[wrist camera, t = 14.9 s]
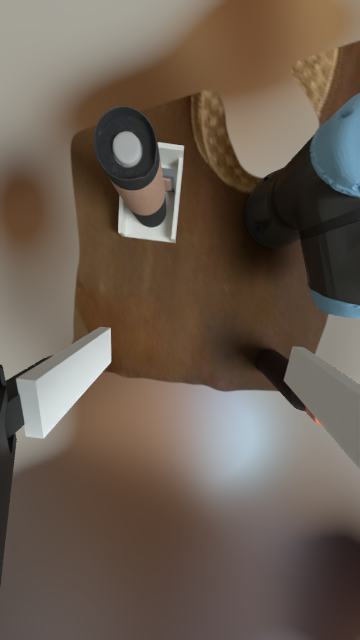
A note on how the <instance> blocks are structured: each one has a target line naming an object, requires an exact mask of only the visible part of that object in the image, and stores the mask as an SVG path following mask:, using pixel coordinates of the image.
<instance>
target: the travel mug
mask: <svg viewBox="0 0 360 640" xmlns="http://www.w3.org/2000/svg"><path fill="white" fill-rule="evenodd" d="M94 149H95V154H96V157H97V159H98V161H99V163H100V165H101V167H102V168H103V170H104V171H105V173H106V175H107V176H108V178H109V179H110V181H111V182H112V184H113V185H114V187H115V188H116V190H117V191H118V193H119V195H120V196H121V198H122V199H123V201H124V202H125V204H126V205H127V207H128V208H129V209H130V211H131V212H132V213H133V214H134V216H135V217H136V218H137V220H138V221H139V222H140V223H141V224H142V225H144V226H146V227H150V228H153V227H157V226H159V225H160V224H161V223H162V222H163V221H164V219H165V217H166V213H167V206H166V194H165V185H164V179H163V173H162V167H161V161H160V154H159V148H158V142H157V137H156V134H155V131H154V128H153V126H152V124H151V123H150V121H149V120H148V119H147V117H146V116H145V115H144V114H143V113H141V112H140V111H138V110H136V109H135V108H132V107H128V106H118V107H115V108H112V109H110V110H108V111H107V112H106V113H105V114H104V115H103V116H102V117H101V118H100V120H99V121H98V123H97V126H96V128H95V132H94Z"/></svg>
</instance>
